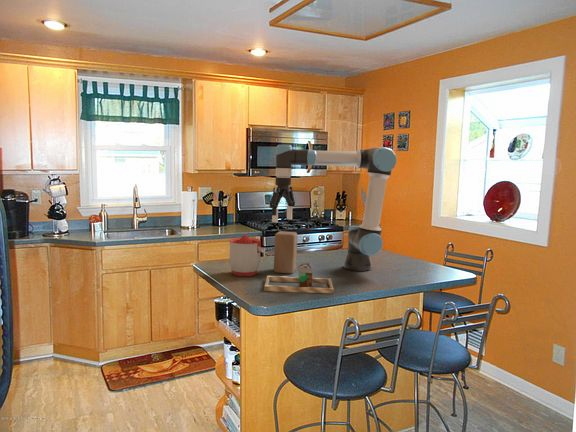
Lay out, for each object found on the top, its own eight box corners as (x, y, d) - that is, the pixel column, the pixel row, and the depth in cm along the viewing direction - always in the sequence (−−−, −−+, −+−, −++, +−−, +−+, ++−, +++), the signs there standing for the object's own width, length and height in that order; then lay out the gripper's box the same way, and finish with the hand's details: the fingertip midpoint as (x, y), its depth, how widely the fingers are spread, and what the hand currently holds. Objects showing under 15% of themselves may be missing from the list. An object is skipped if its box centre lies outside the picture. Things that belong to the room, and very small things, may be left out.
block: (292, 274, 225) (294, 234, 223) (273, 272, 227) (274, 233, 225) (296, 269, 235) (297, 232, 233) (277, 268, 237) (278, 230, 234)
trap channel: (330, 282, 212) (330, 277, 211) (333, 293, 194) (333, 288, 194) (267, 280, 212) (267, 275, 212) (264, 290, 195) (264, 285, 194)
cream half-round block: (295, 283, 209) (295, 262, 208) (308, 283, 209) (309, 262, 208) (297, 290, 197) (298, 268, 196) (311, 290, 197) (312, 268, 196)
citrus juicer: (259, 279, 213) (260, 238, 211) (224, 276, 216) (225, 235, 214) (266, 271, 229) (267, 233, 226) (233, 269, 232) (234, 231, 229)
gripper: (289, 176, 229) (288, 217, 232) (262, 177, 208) (261, 222, 211) (302, 176, 225) (301, 218, 228) (276, 177, 204) (275, 224, 207)
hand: (282, 220), depth 219 cm, fingers open, 13 cm apart
